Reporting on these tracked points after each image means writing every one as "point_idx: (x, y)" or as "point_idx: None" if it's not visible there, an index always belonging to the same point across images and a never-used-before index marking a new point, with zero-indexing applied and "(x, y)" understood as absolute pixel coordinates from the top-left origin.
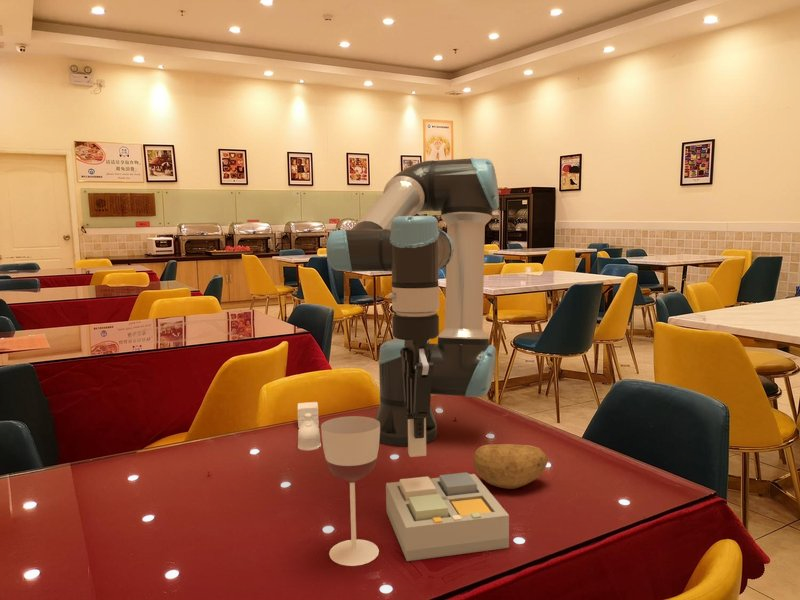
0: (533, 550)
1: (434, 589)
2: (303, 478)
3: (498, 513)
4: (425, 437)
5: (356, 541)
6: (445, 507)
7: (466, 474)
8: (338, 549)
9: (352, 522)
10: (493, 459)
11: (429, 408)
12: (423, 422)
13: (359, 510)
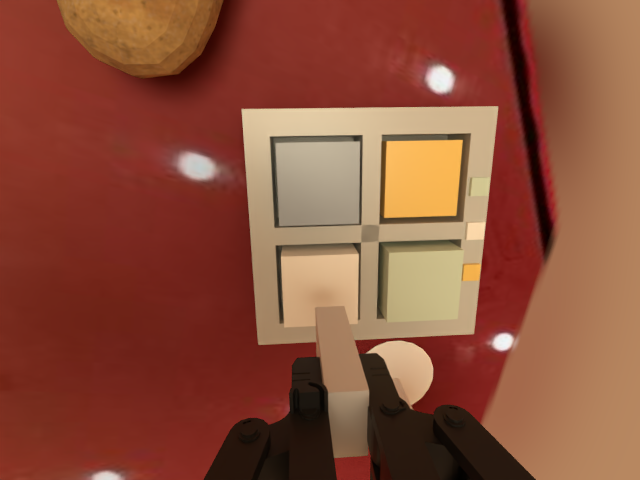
0: (484, 66)
1: (530, 277)
2: (78, 451)
3: (481, 128)
4: (352, 338)
5: None
6: (460, 255)
7: (289, 149)
8: None
9: None
10: (185, 17)
11: (503, 448)
12: (398, 396)
13: (247, 358)
